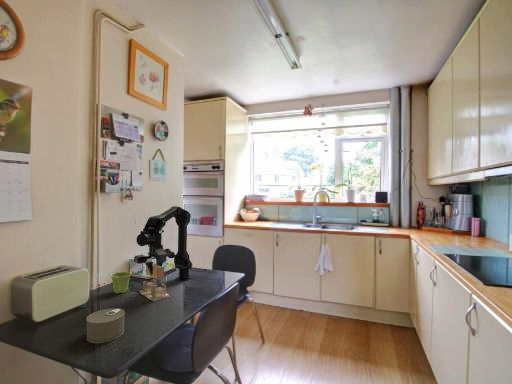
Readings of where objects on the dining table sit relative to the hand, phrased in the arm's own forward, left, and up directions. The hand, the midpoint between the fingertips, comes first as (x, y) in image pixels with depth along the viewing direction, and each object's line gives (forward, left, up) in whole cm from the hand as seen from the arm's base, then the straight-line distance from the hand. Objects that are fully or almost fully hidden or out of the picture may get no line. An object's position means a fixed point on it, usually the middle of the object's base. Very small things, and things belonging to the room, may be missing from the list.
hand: (154, 274), depth 133 cm
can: (+24, -29, -10) cm, 39 cm away
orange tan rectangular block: (0, 0, -1) cm, 1 cm away
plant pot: (-16, -10, -10) cm, 22 cm away
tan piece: (0, 0, -10) cm, 10 cm away
